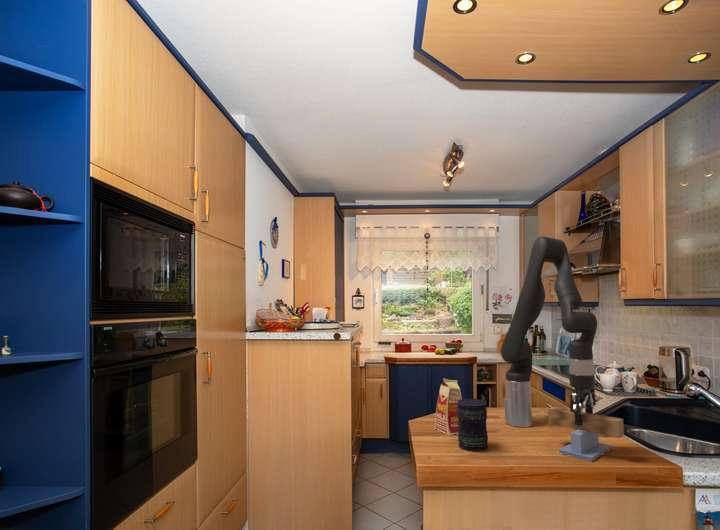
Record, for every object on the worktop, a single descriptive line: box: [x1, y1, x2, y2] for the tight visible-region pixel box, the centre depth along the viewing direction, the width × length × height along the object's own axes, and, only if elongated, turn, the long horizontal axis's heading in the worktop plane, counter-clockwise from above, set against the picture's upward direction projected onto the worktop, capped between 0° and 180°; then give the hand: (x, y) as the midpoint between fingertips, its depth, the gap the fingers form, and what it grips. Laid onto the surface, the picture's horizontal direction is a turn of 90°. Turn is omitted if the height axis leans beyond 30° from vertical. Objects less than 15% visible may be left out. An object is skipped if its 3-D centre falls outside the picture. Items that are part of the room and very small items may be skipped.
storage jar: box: [457, 398, 489, 453], centre depth 152 cm, size 10×10×15 cm
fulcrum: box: [558, 429, 612, 463], centre depth 145 cm, size 10×16×7 cm, turn 132°
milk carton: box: [434, 377, 463, 436], centre depth 170 cm, size 9×9×20 cm
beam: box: [547, 406, 625, 439], centre depth 146 cm, size 22×4×5 cm, turn 42°
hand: (584, 422), depth 146 cm, fingers open, 8 cm apart
